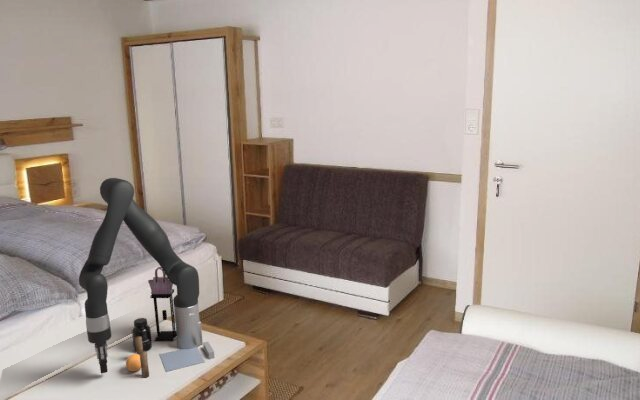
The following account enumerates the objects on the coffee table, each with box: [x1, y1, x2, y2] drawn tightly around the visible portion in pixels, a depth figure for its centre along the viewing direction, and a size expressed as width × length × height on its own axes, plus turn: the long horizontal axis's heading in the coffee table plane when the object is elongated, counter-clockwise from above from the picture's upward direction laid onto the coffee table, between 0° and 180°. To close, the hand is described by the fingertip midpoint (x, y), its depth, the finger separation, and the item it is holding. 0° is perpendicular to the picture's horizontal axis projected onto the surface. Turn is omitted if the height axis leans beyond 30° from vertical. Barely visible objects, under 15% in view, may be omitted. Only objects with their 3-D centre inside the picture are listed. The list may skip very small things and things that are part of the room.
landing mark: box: [159, 347, 206, 373], centre depth 197 cm, size 14×14×1 cm
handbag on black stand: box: [147, 266, 177, 342], centre depth 211 cm, size 10×8×30 cm
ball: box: [125, 353, 141, 372], centre depth 188 cm, size 6×6×6 cm
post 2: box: [140, 351, 150, 379], centre depth 184 cm, size 2×2×9 cm
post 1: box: [135, 336, 143, 355], centre depth 195 cm, size 2×2×9 cm
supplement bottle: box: [131, 317, 153, 352], centre depth 203 cm, size 7×7×12 cm
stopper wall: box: [202, 341, 215, 360], centre depth 200 cm, size 2×9×2 cm, turn 26°
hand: (104, 371), depth 185 cm, fingers closed
